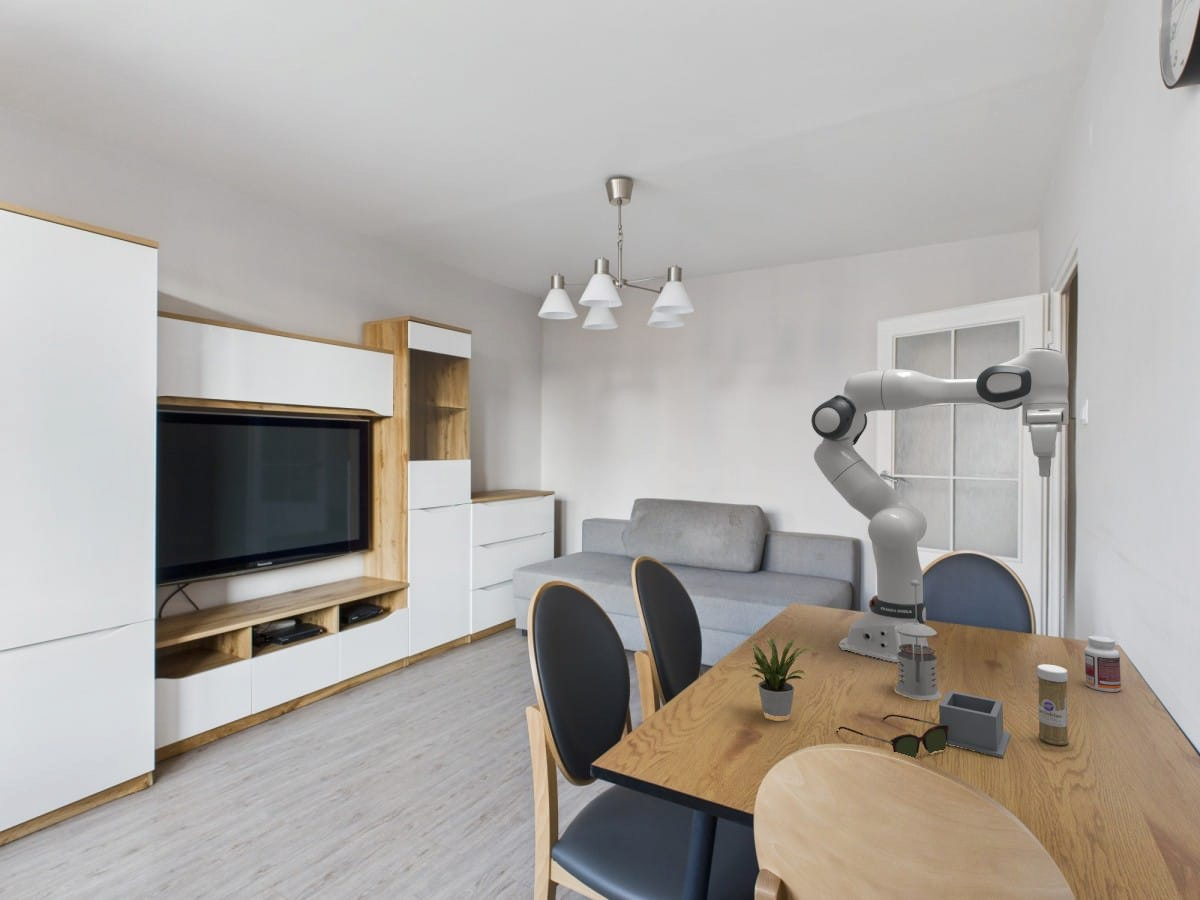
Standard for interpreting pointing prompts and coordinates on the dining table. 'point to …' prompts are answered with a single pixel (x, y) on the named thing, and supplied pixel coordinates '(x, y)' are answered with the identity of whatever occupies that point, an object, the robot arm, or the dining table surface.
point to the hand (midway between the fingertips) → (1044, 476)
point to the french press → (917, 662)
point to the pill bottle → (1102, 664)
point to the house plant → (776, 679)
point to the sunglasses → (916, 739)
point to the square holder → (974, 723)
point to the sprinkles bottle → (1053, 704)
